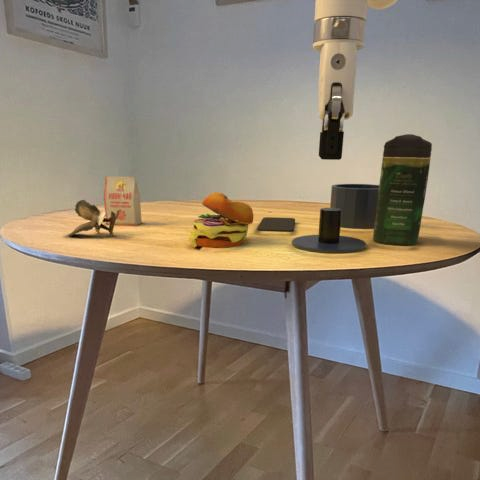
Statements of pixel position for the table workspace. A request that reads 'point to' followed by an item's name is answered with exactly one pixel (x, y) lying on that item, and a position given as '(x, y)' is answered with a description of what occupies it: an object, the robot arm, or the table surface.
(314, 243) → the lid
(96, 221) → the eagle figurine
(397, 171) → the coffee jar
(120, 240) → the table surface
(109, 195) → the paper takeout bag
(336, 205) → the pot
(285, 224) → the phone
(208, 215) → the cheeseburger
